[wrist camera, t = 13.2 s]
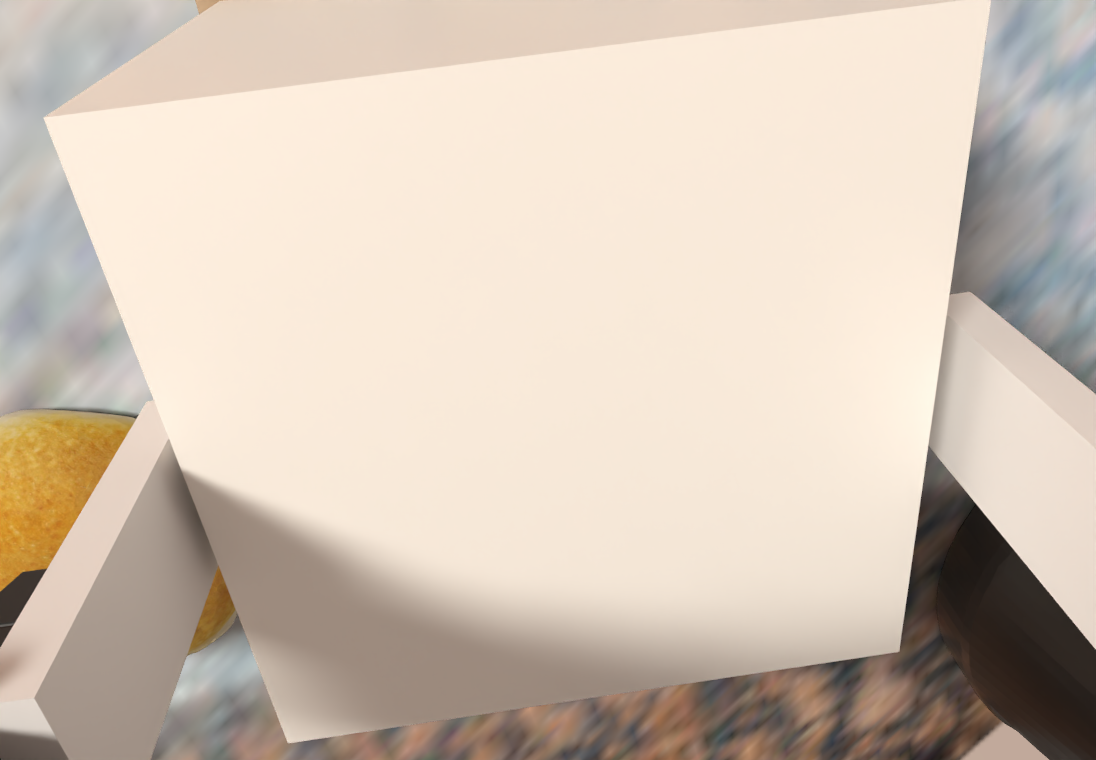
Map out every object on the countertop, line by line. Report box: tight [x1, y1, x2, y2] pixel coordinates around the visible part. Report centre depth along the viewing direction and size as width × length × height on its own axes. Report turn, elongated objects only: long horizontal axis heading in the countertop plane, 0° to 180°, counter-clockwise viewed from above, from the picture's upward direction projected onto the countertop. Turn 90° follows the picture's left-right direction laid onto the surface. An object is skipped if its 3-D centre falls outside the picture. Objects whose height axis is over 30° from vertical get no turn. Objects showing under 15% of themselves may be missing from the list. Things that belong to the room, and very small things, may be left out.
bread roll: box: [0, 409, 237, 655], centre depth 26 cm, size 8×9×4 cm
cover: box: [44, 0, 991, 743], centre depth 19 cm, size 12×12×10 cm
